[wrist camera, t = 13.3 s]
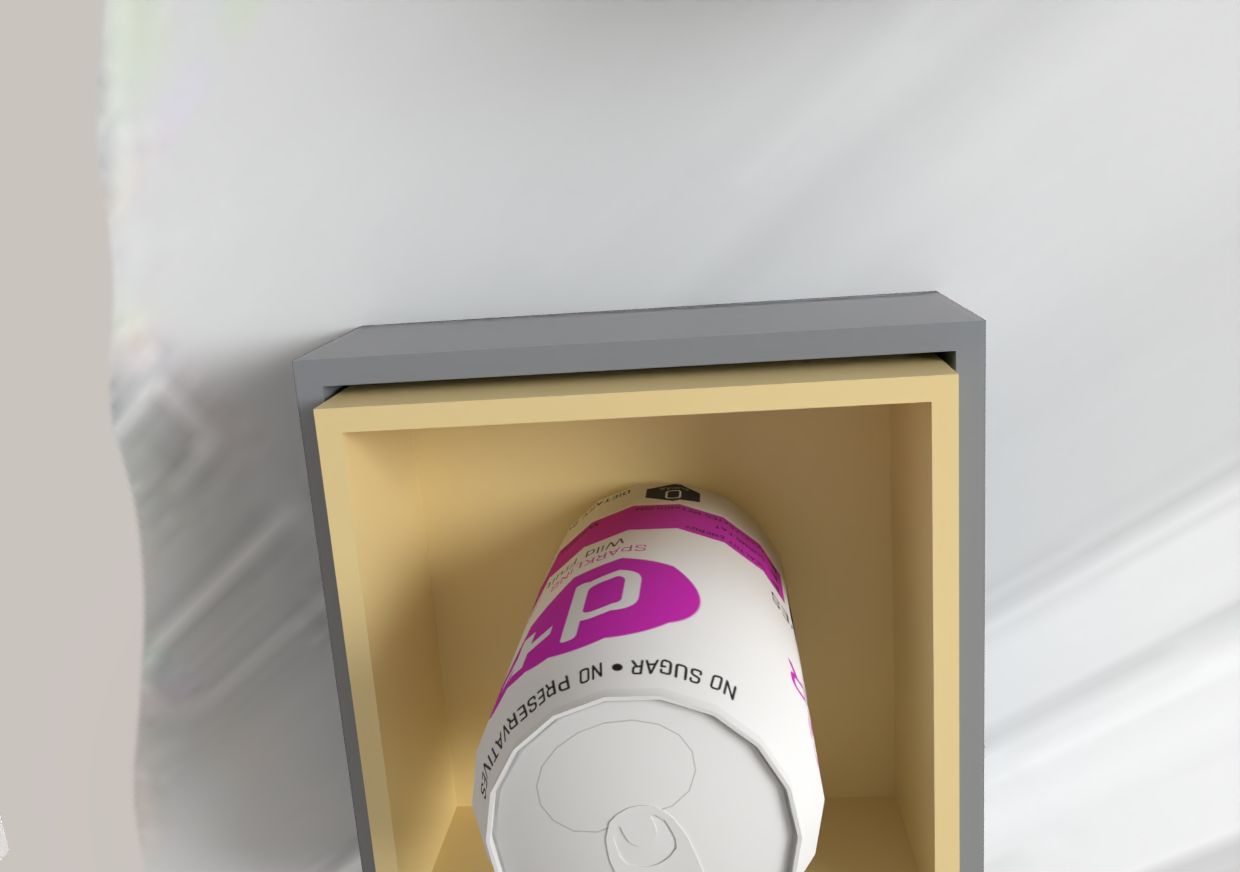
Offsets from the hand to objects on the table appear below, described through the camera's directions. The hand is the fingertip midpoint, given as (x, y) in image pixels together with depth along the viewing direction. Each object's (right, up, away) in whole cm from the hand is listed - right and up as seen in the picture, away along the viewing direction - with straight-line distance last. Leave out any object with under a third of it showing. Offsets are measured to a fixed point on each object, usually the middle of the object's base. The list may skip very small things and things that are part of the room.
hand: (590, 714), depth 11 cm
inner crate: (+2, -3, +29) cm, 29 cm away
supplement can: (+2, -3, +29) cm, 29 cm away
